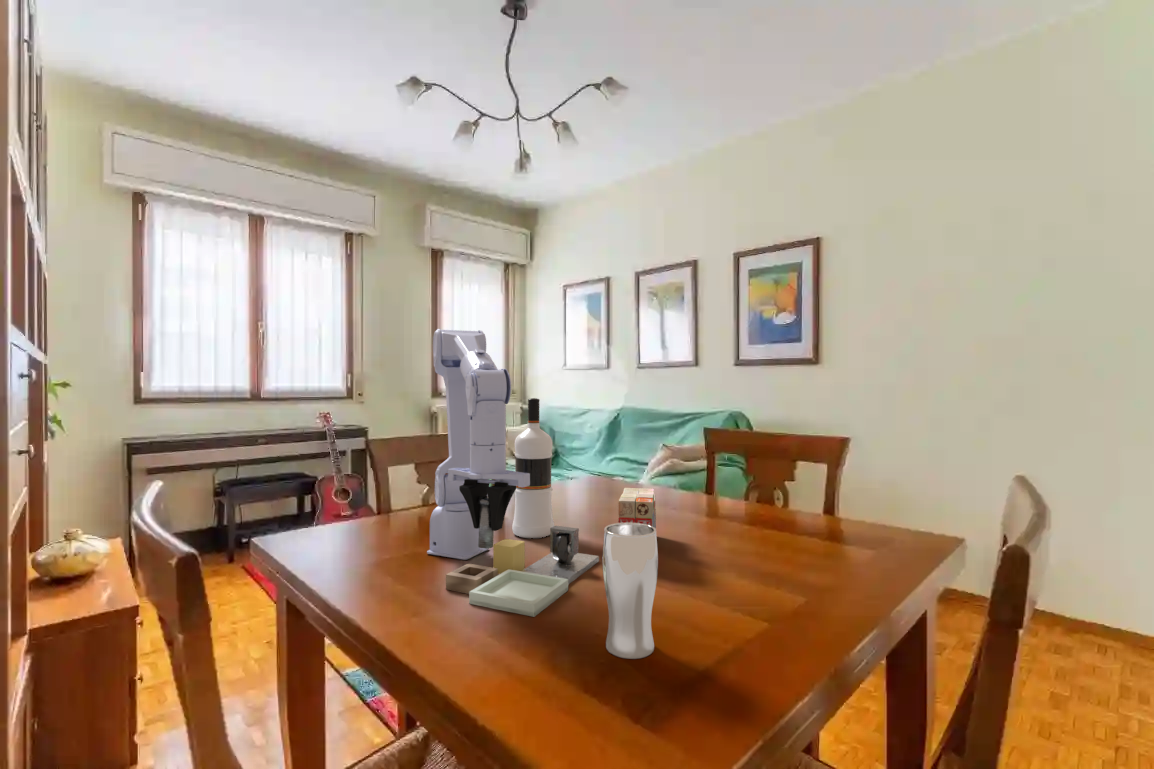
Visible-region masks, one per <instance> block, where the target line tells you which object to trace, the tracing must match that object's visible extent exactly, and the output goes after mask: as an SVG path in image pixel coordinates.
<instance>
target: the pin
mask: <svg viewBox="0 0 1154 769" xmlns="http://www.w3.org/2000/svg"><path fill="white" fill-rule="evenodd" d="M478 503H479V504H480V515H479V537H478V547H479V548H489V549H491V548H493V544H494V539H495V538H494V537H495V536H494V534H495V531H492V530H491V511H490V503H489V498H488V496H481V497H479V498H478Z"/></svg>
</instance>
